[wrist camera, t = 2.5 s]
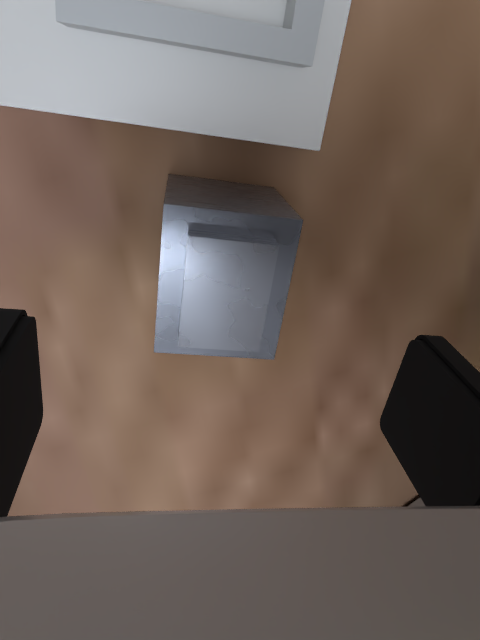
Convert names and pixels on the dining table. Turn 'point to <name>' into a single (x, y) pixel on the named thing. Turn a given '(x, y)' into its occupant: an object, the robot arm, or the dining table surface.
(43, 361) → the dining table surface
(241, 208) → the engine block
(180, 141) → the dining table surface
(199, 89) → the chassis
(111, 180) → the dining table surface
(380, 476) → the dining table surface
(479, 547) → the robot arm
